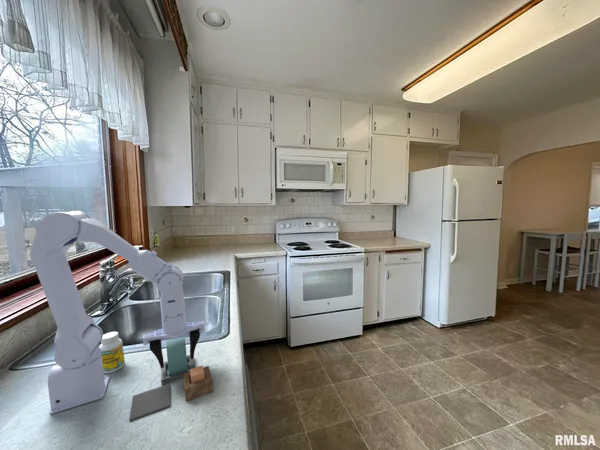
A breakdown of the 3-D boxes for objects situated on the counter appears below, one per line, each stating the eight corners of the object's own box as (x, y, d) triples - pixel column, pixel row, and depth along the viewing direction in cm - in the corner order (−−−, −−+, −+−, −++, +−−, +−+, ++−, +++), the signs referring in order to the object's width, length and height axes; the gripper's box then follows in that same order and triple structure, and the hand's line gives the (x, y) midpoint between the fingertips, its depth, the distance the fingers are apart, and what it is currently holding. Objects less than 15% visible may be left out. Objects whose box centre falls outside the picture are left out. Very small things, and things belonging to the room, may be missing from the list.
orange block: (192, 392, 60) (190, 376, 60) (190, 384, 63) (189, 369, 62) (205, 387, 61) (204, 372, 61) (203, 380, 64) (202, 365, 64)
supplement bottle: (125, 359, 75) (121, 328, 74) (124, 368, 70) (121, 336, 69) (102, 366, 72) (98, 333, 71) (100, 376, 67) (96, 342, 66)
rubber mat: (129, 421, 53) (129, 419, 53) (133, 397, 60) (133, 395, 60) (170, 406, 57) (170, 405, 57) (169, 385, 63) (169, 383, 63)
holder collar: (161, 385, 64) (160, 380, 63) (161, 367, 71) (161, 363, 70) (195, 373, 67) (195, 369, 67) (192, 358, 74) (192, 354, 74)
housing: (185, 401, 58) (184, 389, 58) (184, 385, 63) (183, 373, 63) (213, 391, 61) (212, 379, 60) (209, 376, 66) (208, 365, 66)
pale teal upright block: (169, 378, 66) (166, 349, 65) (168, 368, 70) (166, 341, 69) (187, 372, 68) (185, 344, 67) (186, 363, 72) (184, 336, 71)
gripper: (140, 326, 60) (145, 379, 62) (204, 312, 67) (207, 360, 69) (142, 315, 67) (147, 364, 68) (201, 303, 73) (204, 347, 75)
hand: (177, 361), depth 69 cm, fingers open, 7 cm apart
